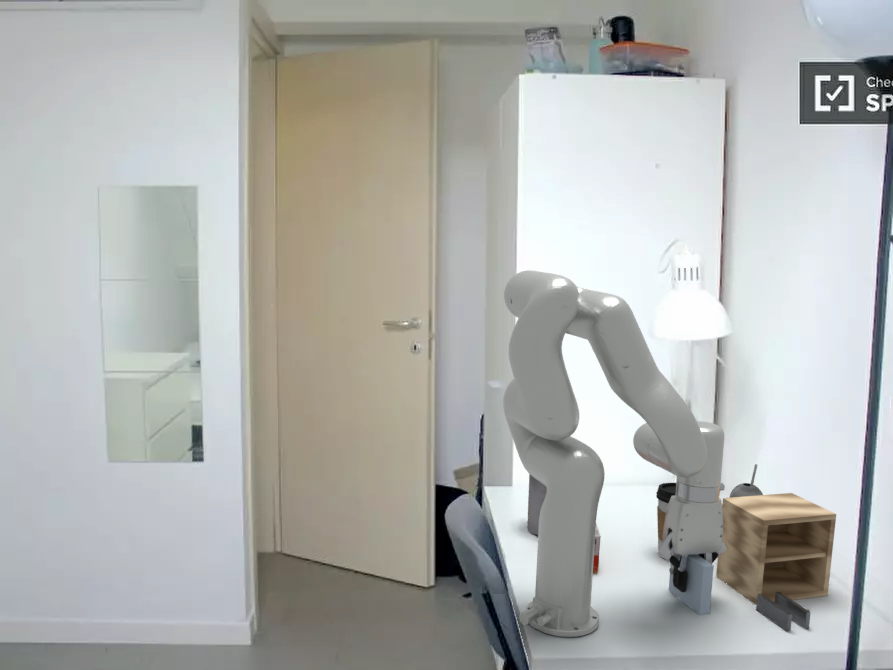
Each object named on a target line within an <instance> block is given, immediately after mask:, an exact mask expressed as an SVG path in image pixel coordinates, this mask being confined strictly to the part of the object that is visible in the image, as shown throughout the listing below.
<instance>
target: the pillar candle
mask: <svg viewBox="0 0 893 670" xmlns="http://www.w3.org/2000/svg"><path fill="white" fill-rule="evenodd" d="M528 475H529V476H528V496H527V497H528V501H527V504H528V505H527V523H526V524H527V525H526V527H527V531H528V532H529V533H531V534H533V535H536V536H538V533H539V531H538V529H539V516H540V511H541V507H542V504H543V502H544V499H545V497H546V493H547V487H546V486H545V485H543V484H542V483H541V482H539V481H538V480H537V479H535V478H534V477H533V476H531V475H530V474H529V473H528Z"/></svg>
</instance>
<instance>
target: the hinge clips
mask: <svg viewBox="0 0 893 670" xmlns="http://www.w3.org/2000/svg"><path fill="white" fill-rule="evenodd" d="M755 610H756V611H757V612H759V613H760V614H761V613H762V614H761V615H762V616H764V617H766V618H767V617H768V618H769V619H768V618H767V619H768V620H770V621H771V622H773V624H776V625H777V626H778V627H780V628H781V629H782V630H784V631H785V632H791V631H792V623H793V622H794V623H796V624H797V625H799V626H800V627H801V628H804V630H807V629H810V622H811V613H812V612H811V611H810V610H808V609H807V608H805V607H804V606H802V605H801V604H799V603H797V602H796V601H794V600H791V599H790V598H788V597H787V596H785V595H784V594H782V593H781V592H775V601H774V602H773V601H772V600H770V599H769V598H767V597H766V596H764V595H763V594H758V596H757V604H756V608H755ZM792 621H793V622H792Z"/></svg>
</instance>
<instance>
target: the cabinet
mask: <svg viewBox="0 0 893 670" xmlns="http://www.w3.org/2000/svg"><path fill="white" fill-rule="evenodd" d="M722 507H723V523H724V524H723V542H724V544H725V546H726V548H727V549H726V551H725V552H723V553H722V554H721V555H718V557H717V560H716V562H717V563H716V574H715V577H716V578H717V579H719V580H720V579H721V580H720V581H722V582H723V581H724V582H723V583H725V584H726V583H727V584H726V585H728V586H729V587H730V586H731V588H732V589H733V590H735V591H736V592H738V593H739V594H740V595H741V596H743V597H745V598H747V599H748V600H749V601H751V602H752V603H753V604H754V605H757V596H758V594H763V595H764V596H766V597H767V598H769V599H770V600H772V601H773V602H774V601H775V592H781V593H782V594H784V595H785V596H787V597H788V598H790V599H791V600H793V601H794V600H802V599H811V598H819V597H826V596H829V585H830V579H831V577H830V576H831V569H832V559H833V558H832V557H833V550H834V538H835V533H836V532H835V530H836V523H837V521H836V520H837V513H835V512H833V511H830V510H829V509H827V508H824V507H822V506H820V505H818V504H816V503H814V502H812V501H810V500H808V499H805V498H803V497H801V496H800V495H796V494H795V493H793V492H788V493H787V492H786V493H785V492H784V493H772V494H763V495H758V496H745V497H732V498H729V497H723V498H722Z"/></svg>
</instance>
